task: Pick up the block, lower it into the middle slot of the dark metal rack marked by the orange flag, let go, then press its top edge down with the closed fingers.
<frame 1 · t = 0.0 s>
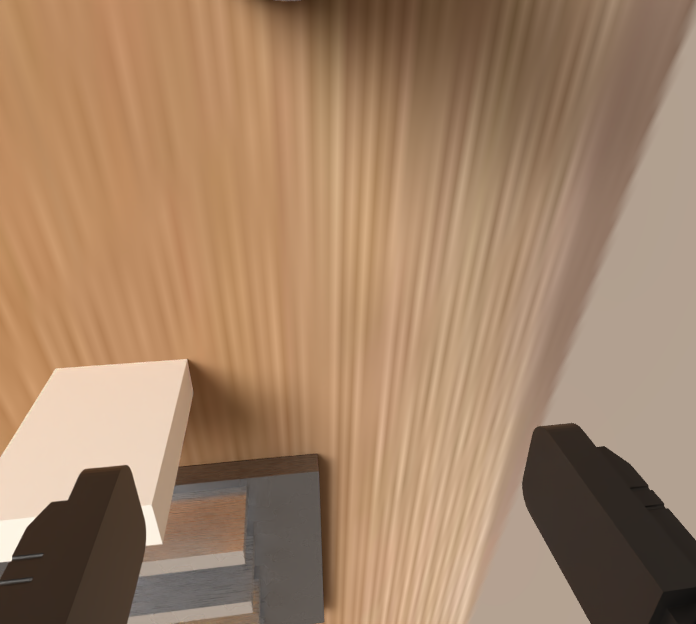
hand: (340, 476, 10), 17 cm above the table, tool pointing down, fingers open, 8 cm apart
rack: (172, 554, 36), on the table
block: (127, 381, 29), on the table
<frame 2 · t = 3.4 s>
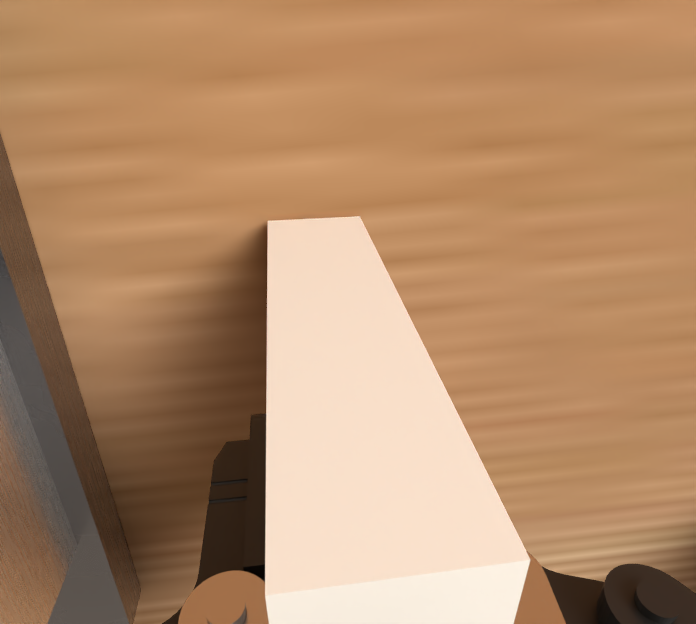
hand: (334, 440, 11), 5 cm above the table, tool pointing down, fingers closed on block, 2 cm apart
block: (318, 333, 15), on the table, touching gripper
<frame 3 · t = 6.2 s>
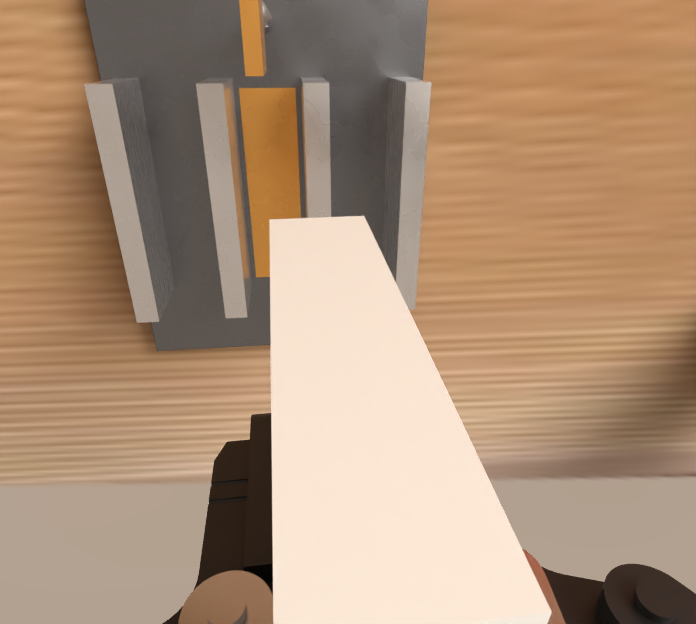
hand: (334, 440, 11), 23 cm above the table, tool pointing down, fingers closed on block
rack: (274, 183, 31), on the table
block: (320, 333, 15), point 19 cm above the table, touching gripper
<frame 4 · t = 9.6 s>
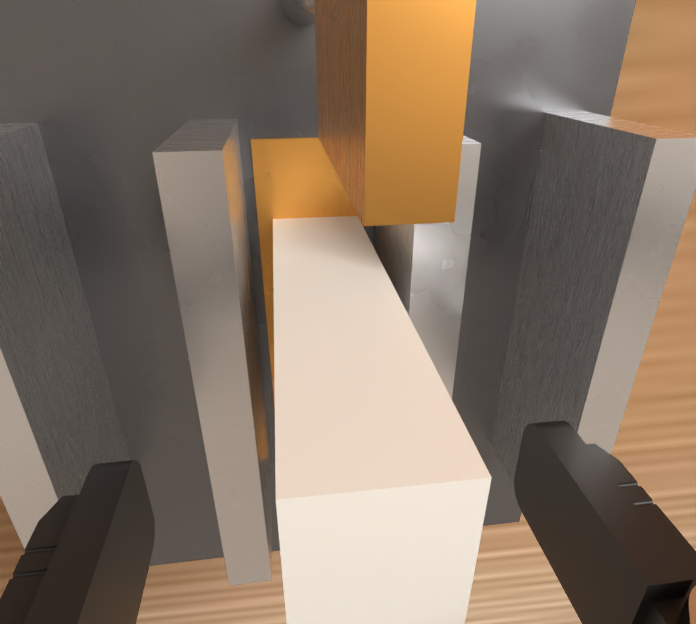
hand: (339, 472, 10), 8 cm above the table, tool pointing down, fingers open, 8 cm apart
rack: (311, 299, 17), on the table
block: (318, 325, 16), point 2 cm above the table, touching rack
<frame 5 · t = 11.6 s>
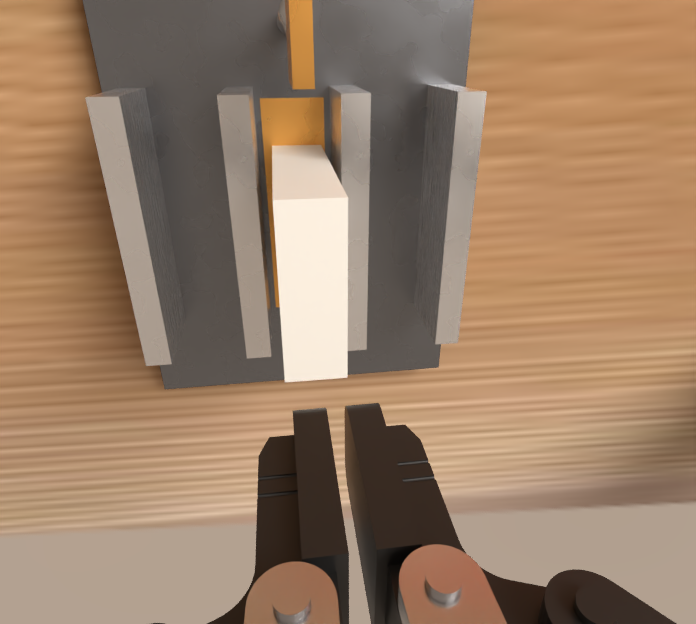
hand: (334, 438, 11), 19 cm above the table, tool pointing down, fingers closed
rack: (296, 203, 28), on the table
block: (299, 214, 26), point 2 cm above the table, touching rack
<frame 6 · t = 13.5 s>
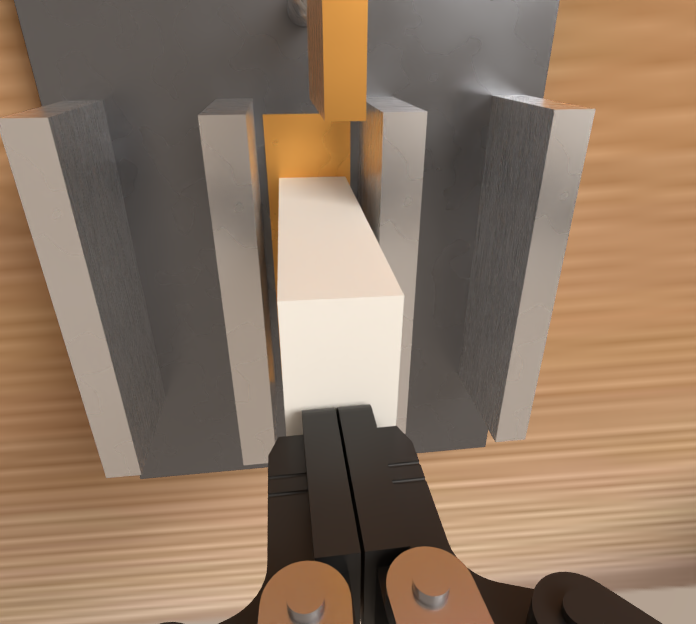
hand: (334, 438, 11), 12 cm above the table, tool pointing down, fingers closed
rack: (309, 248, 21), on the table
block: (314, 266, 20), point 2 cm above the table, touching gripper, rack
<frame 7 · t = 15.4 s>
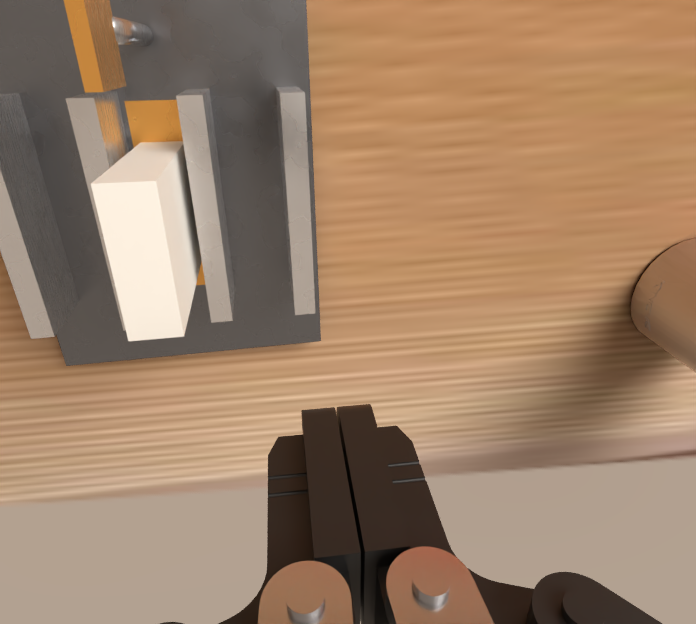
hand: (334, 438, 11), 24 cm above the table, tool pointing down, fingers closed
rack: (174, 194, 31), on the table
block: (173, 203, 30), point 2 cm above the table, touching rack
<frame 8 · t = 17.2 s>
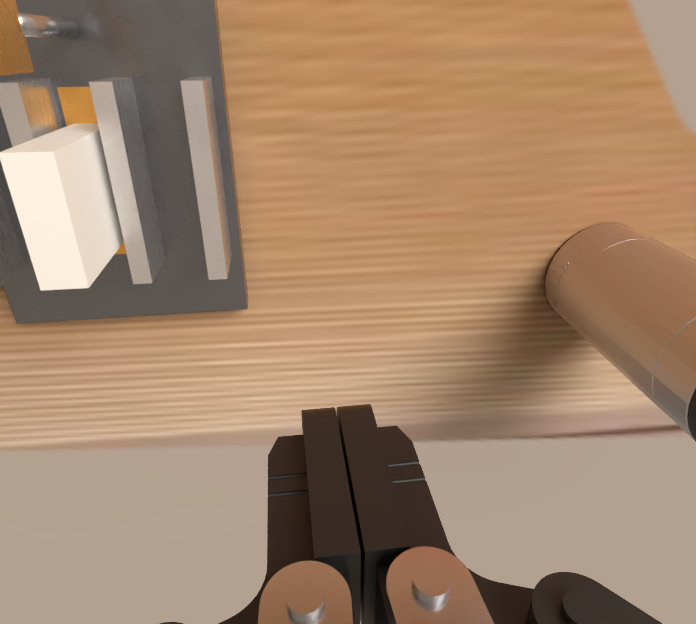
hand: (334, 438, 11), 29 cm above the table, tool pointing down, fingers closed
rack: (109, 171, 35), on the table
block: (104, 178, 34), point 2 cm above the table, touching rack
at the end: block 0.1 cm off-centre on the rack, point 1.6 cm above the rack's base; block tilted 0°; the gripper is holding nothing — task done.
